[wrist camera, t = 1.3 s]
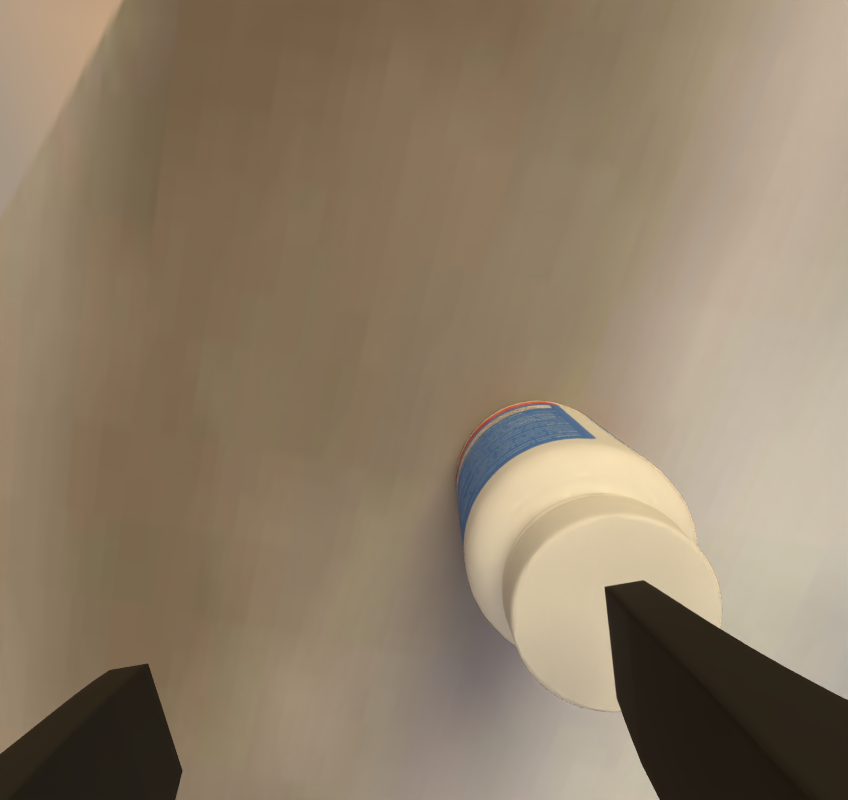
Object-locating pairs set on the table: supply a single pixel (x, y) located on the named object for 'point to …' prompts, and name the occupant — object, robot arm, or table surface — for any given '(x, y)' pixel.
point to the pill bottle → (570, 541)
